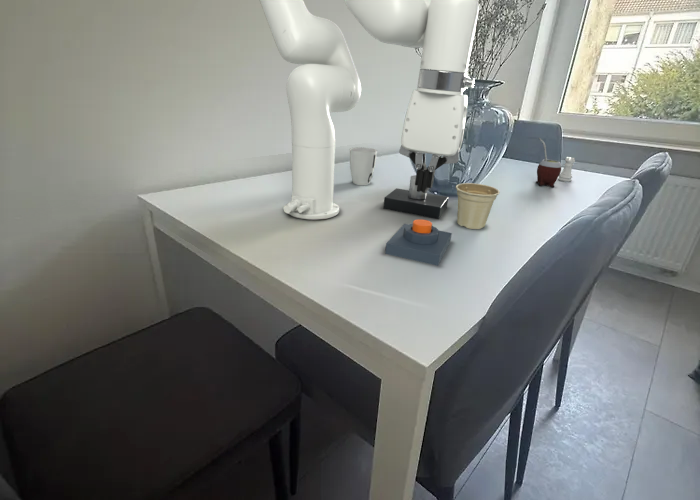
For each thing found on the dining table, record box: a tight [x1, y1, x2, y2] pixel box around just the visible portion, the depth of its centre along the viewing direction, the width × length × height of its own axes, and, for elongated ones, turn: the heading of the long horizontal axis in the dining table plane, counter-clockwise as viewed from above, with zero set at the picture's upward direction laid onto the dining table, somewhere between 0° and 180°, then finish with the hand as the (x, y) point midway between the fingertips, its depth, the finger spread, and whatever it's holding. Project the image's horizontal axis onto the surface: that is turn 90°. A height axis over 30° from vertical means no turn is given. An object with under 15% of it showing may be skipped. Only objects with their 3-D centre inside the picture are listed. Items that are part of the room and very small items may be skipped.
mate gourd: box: [535, 137, 562, 188], centre depth 127 cm, size 8×8×15 cm
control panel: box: [383, 187, 449, 220], centre depth 98 cm, size 14×10×3 cm
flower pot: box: [455, 182, 501, 230], centre depth 88 cm, size 9×9×9 cm
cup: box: [349, 146, 378, 186], centre depth 117 cm, size 8×8×10 cm
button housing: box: [384, 222, 453, 267], centre depth 75 cm, size 12×10×4 cm
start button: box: [412, 218, 433, 233], centre depth 74 cm, size 4×4×2 cm
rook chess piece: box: [557, 156, 576, 183], centre depth 136 cm, size 4×4×8 cm
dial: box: [408, 174, 428, 200], centre depth 97 cm, size 4×4×5 cm
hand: (422, 190), depth 72 cm, fingers closed
